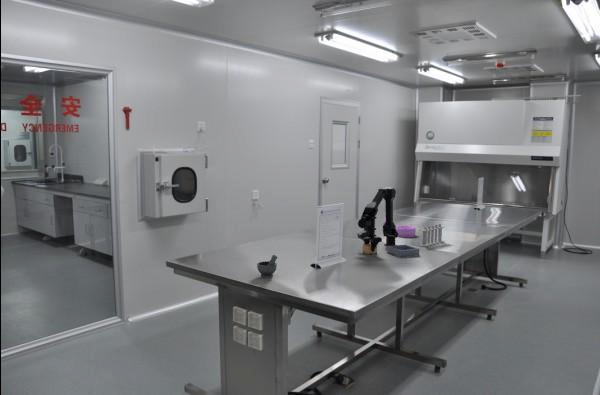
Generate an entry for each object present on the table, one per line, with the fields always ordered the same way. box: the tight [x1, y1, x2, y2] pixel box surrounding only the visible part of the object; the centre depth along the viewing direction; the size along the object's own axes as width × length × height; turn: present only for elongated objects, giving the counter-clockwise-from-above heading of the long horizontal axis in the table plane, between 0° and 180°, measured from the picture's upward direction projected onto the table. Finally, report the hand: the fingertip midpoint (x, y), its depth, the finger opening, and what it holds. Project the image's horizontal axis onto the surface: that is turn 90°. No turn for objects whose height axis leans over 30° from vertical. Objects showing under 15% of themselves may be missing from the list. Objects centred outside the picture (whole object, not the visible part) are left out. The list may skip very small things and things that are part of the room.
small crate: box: [362, 243, 378, 255], centre depth 291 cm, size 6×6×5 cm
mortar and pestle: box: [256, 254, 278, 279], centre depth 235 cm, size 11×9×12 cm
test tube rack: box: [418, 223, 446, 248], centre depth 318 cm, size 25×4×13 cm, turn 132°
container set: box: [382, 218, 417, 238], centre depth 351 cm, size 25×15×13 cm, turn 60°
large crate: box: [386, 244, 420, 258], centre depth 289 cm, size 14×14×4 cm
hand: (369, 250), depth 291 cm, fingers closed on small crate, 6 cm apart
